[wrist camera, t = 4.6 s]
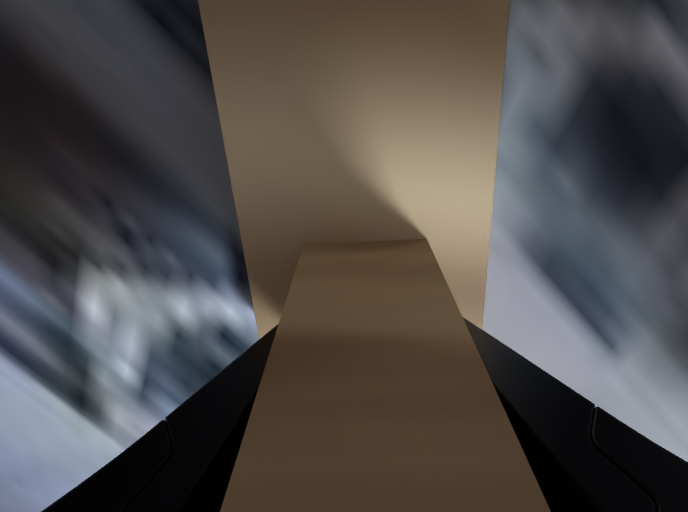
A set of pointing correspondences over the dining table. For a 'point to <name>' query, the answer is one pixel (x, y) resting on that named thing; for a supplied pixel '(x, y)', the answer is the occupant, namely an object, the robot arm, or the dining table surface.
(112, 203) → the dining table surface
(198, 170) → the dining table surface
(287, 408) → the tan boxy piece
